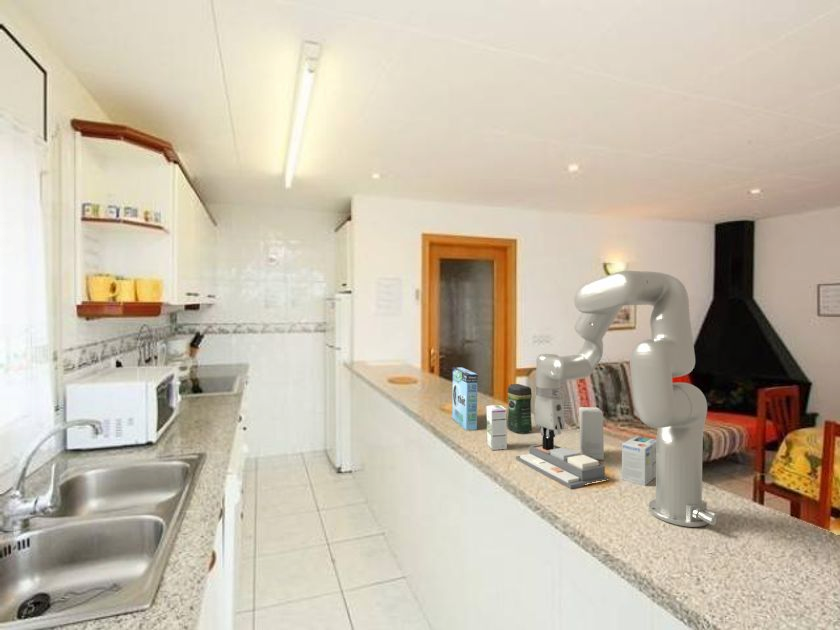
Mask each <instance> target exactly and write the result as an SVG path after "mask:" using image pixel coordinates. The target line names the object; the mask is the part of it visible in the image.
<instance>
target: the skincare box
mask: <svg viewBox="0 0 840 630" xmlns="http://www.w3.org/2000/svg"><path fill="white" fill-rule="evenodd" d="M578 409H579V411H578V414H579V415H578V417H579V453H580V455H585V456H588V457H590V458H592V459H595V460H597V461H604V460H605V457H604V456H605V454H604V453H605V452H604V450H605V449H604V412H603V411H602V410H601V408H599V407H596V406H593V407H588V406H586V407H584V406H583V407H582V406H581V407H580V406H579V408H578Z"/></svg>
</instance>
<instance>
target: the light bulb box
mask: <svg viewBox="0 0 840 630" xmlns="http://www.w3.org/2000/svg"><path fill="white" fill-rule="evenodd" d="M654 479H656V439H655V438H649V437H643V436H640V435H639V436H638V435H634V436H633V437H631V438H629V439H627V440H626V441H624V442H622V444H621V480H624V481H627V482H630V483H634V484H637V485H641V486H646V485H648V484H649V483H650V482H652V480H654Z"/></svg>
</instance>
